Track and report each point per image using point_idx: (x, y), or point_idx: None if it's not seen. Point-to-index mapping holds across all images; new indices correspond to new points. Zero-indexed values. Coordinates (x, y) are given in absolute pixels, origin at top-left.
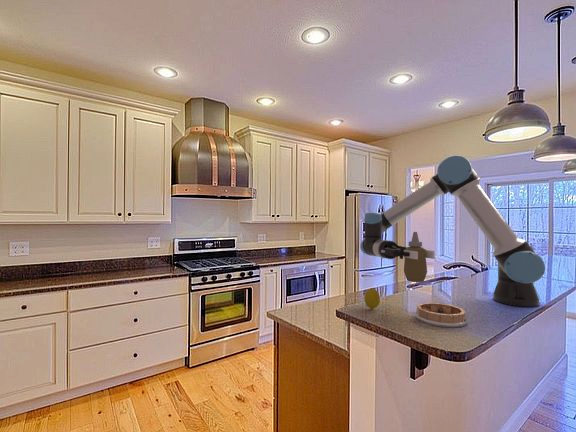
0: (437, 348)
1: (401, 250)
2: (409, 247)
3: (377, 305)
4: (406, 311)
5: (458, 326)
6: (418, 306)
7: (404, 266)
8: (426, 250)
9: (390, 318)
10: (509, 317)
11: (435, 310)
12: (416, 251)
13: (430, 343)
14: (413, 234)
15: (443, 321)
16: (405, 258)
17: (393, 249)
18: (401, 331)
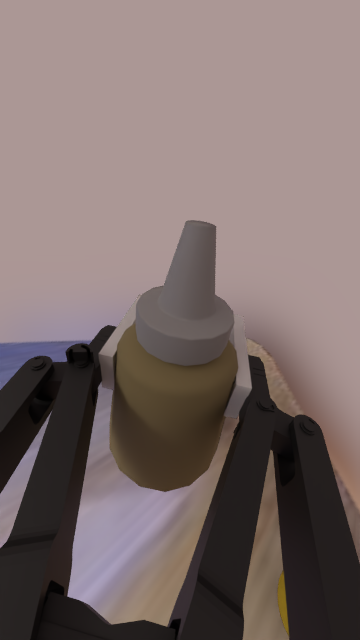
0: (267, 351)
1: (269, 398)
2: (224, 352)
3: None
4: (185, 503)
5: None
6: None
7: (213, 450)
8: (135, 320)
9: (272, 474)
10: (39, 351)
11: None
12: (235, 318)
13: (267, 361)
14: (215, 252)
15: None
16: (223, 418)
17: (311, 488)
18: (286, 405)
